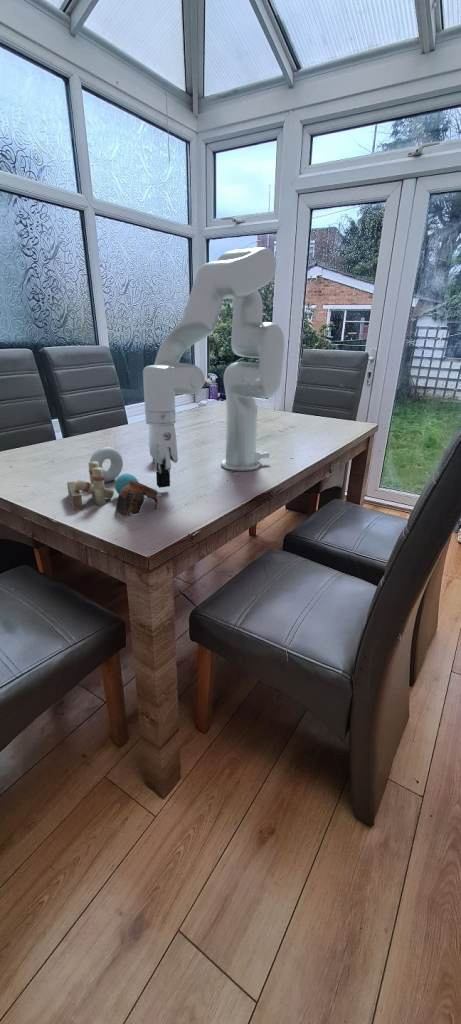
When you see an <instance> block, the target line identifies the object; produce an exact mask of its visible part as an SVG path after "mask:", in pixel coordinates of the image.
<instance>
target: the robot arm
mask: <svg viewBox="0 0 461 1024" xmlns="http://www.w3.org/2000/svg"><path fill="white" fill-rule="evenodd" d="M276 270H277V261H276V257H275V255H274V252H273V251H272V250H271V249H269V248H268V247H262V246H261V247H253V248H245V249H244V248H242V249H234V250H229V251H227V252H226V251H225V252H224V253H222V254H221V255H219V257H218V259H217V261H210V262H206V263H204V264H202V265H201V266H200V267H199V268H198V270H197V272H196V274H195V278H194V281H193V283H192V287H191V291H190V294H189V297H188V300H187V303H186V307H185V308H184V309H185V310H184V314H183V316H182V318H181V320H179V322H178V323H177V324H176V325H174V327H173V328H172V329H171V331H170V332H169V333H168V334H167V335H166V337H164V339H163V340H162V342H161V344H160V347H159V348H158V351H157V353H156V356H155V360H154V364H151V365H146V366H145V367H144V368H143V370H142V378H143V379H142V380H143V381H142V382H143V397H144V400H143V401H144V415H145V416H144V418H145V424H146V425H148V445H149V455H150V456H151V458H152V460H153V459H154V460H155V472H156V473H155V474H156V479H155V480H156V486H157V487H158V488H166V487H167V488H169V487H170V486H171V473H170V472H171V470H172V464H171V463H175V464H177V462H178V460H179V459H178V458H179V457H178V444H177V435H176V433H177V432H176V428H175V424H176V423H177V422H176V421H177V420H176V418H177V417H176V414H177V413H176V395H187V396H188V395H189V396H190V395H195V394H196V393H198V392H200V391H201V389H202V388H203V387H204V384H205V375H204V372H203V370H202V369H201V368H200V367H198V366H197V365H194V364H192V363H187V362H180V360H181V358H182V356H183V354H185V352H186V351H187V350H188V349H189V348H191V347H192V346H193V345H195V344H196V343H198V342H200V341H202V340H204V339H206V338H207V337H209V336H211V335H212V334H213V333H214V331H215V330H216V326H217V323H218V319H219V317H220V313H221V310H222V306H223V304H224V301H225V300H226V299H230V300H231V302H232V318H231V319H232V320H231V338H230V341H231V342H230V344H231V345H230V346H231V350H232V352H233V353H234V355H236V356H239V357H242V358H254V359H258V360H259V362H253V361H252V362H249V361H248V362H247V361H236V362H232V363H230V364H229V365H228V366H227V367H225V371H224V374H223V386H224V392H225V399H226V415H225V416H226V420H225V422H226V423H225V424H226V427H225V428H226V429H225V432H226V433H225V458H223V459H222V460H221V461H220V466H221V467H222V468H223V469H226V470H229V471H236V472H237V471H240V472H242V471H244V472H245V471H247V472H248V471H253V470H256V469H259V468H260V467H261V462H260V461H261V459H269V458H270V453H269V451H265V452H262V451H257V431H258V430H257V429H258V406H257V403H256V401H255V399H254V398H261V399H271V398H273V397H275V396H276V395H277V393H278V392H279V389H280V386H281V381H282V372H283V363H284V362H283V361H284V353H285V336H284V332H283V329H282V328H281V327H280V325H279V324H277V323H276V322H271V321H263V307H264V304H263V300H262V299H263V298H262V296H261V293H260V291H259V290H260V289H262V288H263V287H265V286H267V285H268V284H269V283H270V282H272V280H273V278H274V276H275V274H276V272H277V271H276ZM171 461H172V462H171Z"/></svg>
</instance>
